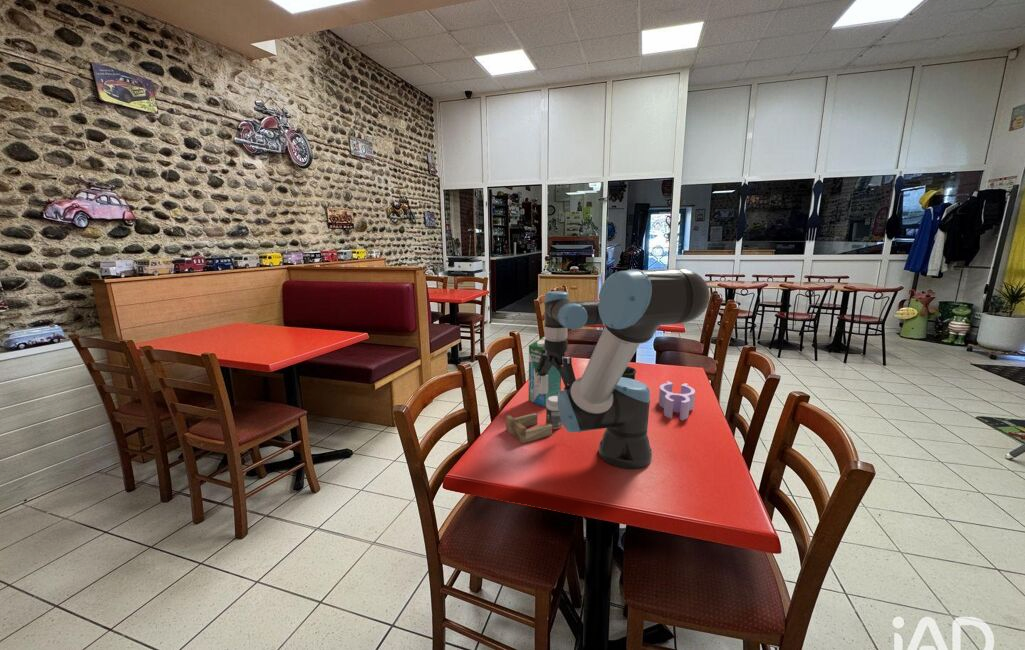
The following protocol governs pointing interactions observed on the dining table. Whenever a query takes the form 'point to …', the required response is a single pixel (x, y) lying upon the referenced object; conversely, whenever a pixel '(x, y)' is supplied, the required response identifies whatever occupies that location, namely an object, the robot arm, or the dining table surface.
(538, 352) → the milk carton
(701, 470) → the dining table surface
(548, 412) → the pill bottle
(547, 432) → the channel
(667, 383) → the clip
